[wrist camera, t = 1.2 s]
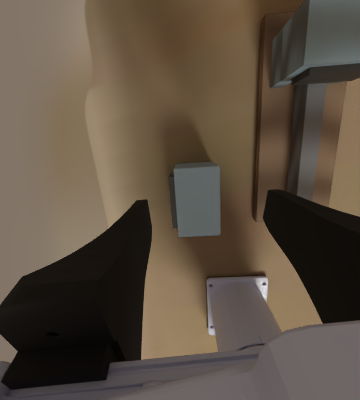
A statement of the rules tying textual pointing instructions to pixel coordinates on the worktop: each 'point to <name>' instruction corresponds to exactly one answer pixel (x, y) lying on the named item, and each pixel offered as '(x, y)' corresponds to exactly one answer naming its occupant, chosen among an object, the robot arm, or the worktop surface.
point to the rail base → (281, 127)
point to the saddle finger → (195, 199)
